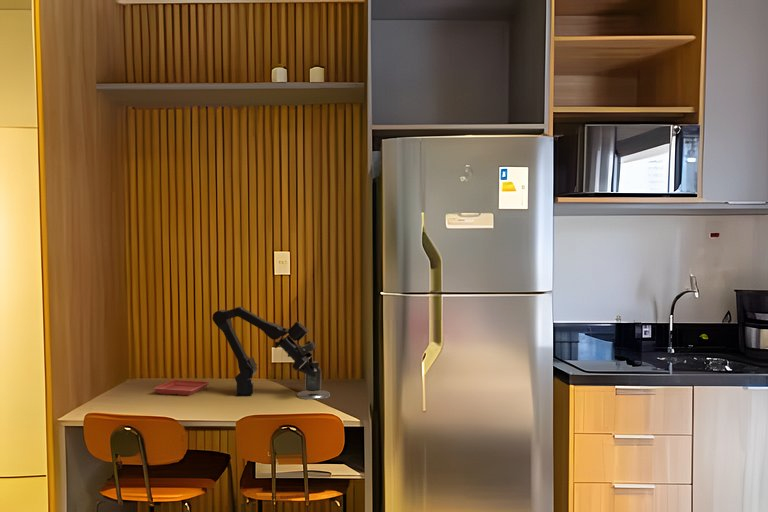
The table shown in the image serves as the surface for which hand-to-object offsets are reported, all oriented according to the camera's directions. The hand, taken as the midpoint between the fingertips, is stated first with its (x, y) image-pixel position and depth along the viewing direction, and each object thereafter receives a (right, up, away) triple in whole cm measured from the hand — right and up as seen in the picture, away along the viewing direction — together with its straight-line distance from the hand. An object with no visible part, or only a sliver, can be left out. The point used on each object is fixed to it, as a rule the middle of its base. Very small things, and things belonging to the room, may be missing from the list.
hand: (316, 374), depth 283 cm
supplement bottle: (-1, -7, 0) cm, 7 cm away
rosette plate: (-1, -9, 0) cm, 9 cm away
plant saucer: (-61, -10, +9) cm, 62 cm away
